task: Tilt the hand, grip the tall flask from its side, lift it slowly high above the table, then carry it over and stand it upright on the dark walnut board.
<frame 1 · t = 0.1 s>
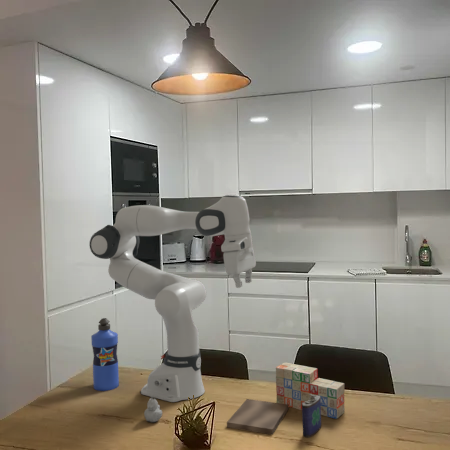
hand: (244, 284, 161), 39 cm above the table, tool pointing down, fingers open, 8 cm apart
water bottle: (106, 386, 179), on the table
stack of blocks: (309, 408, 156), on the table
walnut board: (258, 417, 149), on the table
rubber duck: (153, 420, 149), on the table
flask: (312, 431, 140), on the table
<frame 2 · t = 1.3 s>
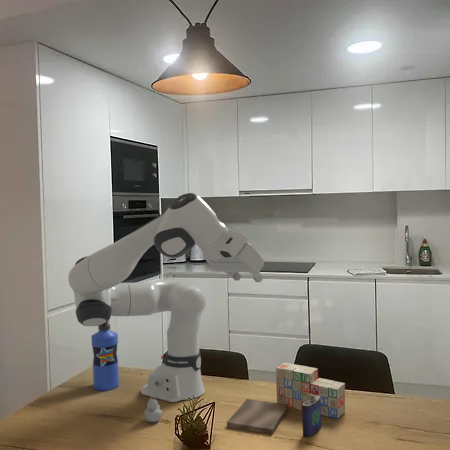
hand: (249, 279, 133), 45 cm above the table, tool tilted 40°, fingers open, 8 cm apart
nothing on the table moved.
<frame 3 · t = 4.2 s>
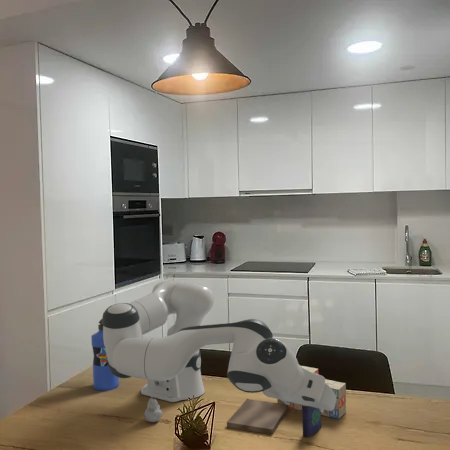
hand: (305, 405, 134), 10 cm above the table, tool tilted 45°, fingers open, 8 cm apart
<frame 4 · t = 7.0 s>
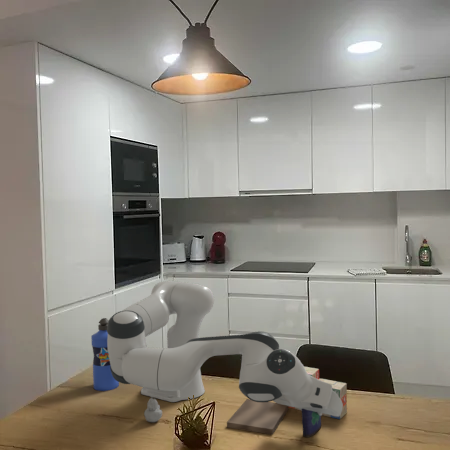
hand: (312, 411, 140), 5 cm above the table, tool tilted 45°, fingers closed on flask, 3 cm apart
flask: (312, 431, 140), on the table, touching gripper
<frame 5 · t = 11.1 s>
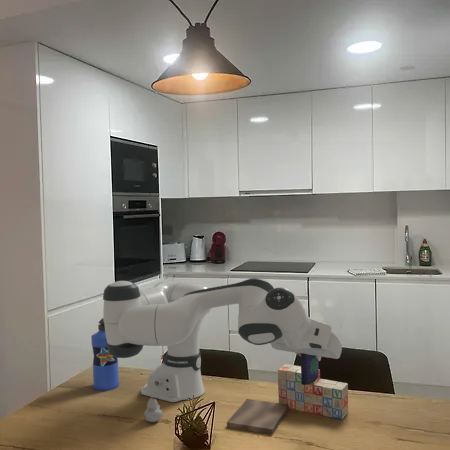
hand: (311, 357, 140), 21 cm above the table, tool tilted 45°, fingers closed on flask, 3 cm apart
flask: (310, 380, 139), point 15 cm above the table, touching gripper
when the fingers open (12 cm above the table, at t = 16.7 s): flask stays where it is, resting on walnut board.
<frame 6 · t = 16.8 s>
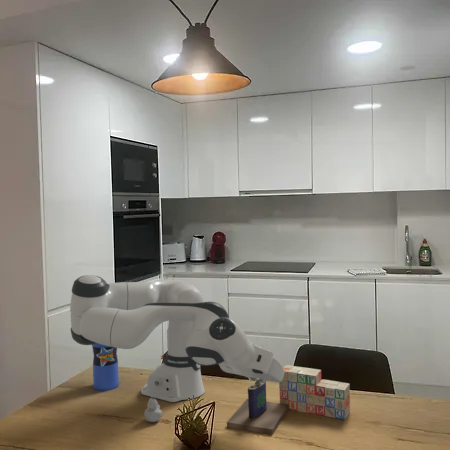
hand: (259, 379, 149), 12 cm above the table, tool tilted 45°
flask: (258, 413, 149), point 1 cm above the table, touching gripper, walnut board
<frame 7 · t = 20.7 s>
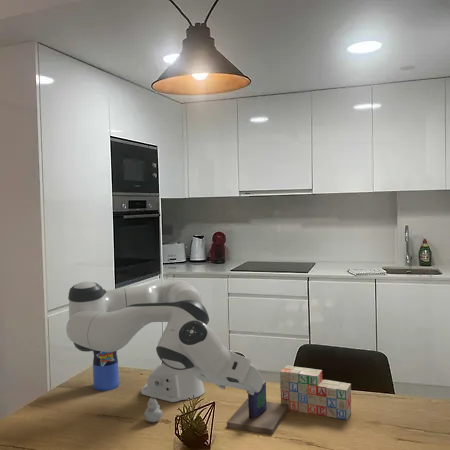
hand: (237, 389, 138), 13 cm above the table, tool tilted 45°, fingers open, 8 cm apart
flask: (258, 413, 149), point 1 cm above the table, touching walnut board
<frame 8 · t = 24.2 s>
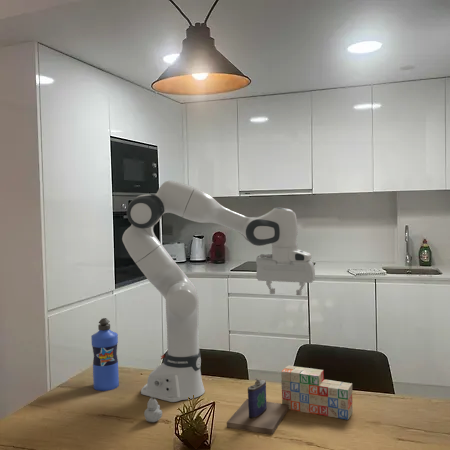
hand: (285, 294, 168), 34 cm above the table, tool pointing down, fingers open, 8 cm apart
at the end: flask inside the target area on the walnut board (0.3 cm from its centre), point 1.3 cm above the walnut board's base; flask tilted 2°; the gripper is holding nothing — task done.
